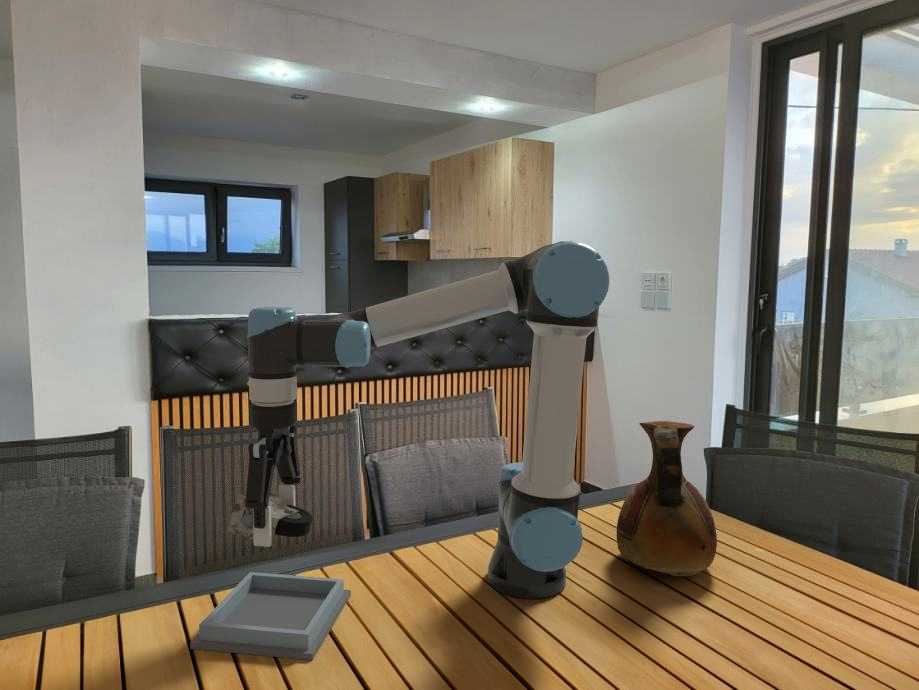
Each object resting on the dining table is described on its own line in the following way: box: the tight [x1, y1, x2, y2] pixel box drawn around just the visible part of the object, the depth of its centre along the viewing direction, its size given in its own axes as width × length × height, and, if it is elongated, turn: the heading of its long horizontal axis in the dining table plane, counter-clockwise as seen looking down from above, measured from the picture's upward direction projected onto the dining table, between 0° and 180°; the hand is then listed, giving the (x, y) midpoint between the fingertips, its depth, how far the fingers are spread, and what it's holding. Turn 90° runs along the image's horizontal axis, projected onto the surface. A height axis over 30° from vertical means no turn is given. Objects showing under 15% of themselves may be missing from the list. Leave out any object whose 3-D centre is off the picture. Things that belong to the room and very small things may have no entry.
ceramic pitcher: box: [616, 420, 718, 577], centre depth 131 cm, size 20×20×30 cm
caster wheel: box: [227, 492, 314, 544], centre depth 108 cm, size 7×11×10 cm
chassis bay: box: [189, 571, 352, 661], centre depth 109 cm, size 20×20×4 cm
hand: (275, 532), depth 108 cm, fingers closed on caster wheel, 9 cm apart
